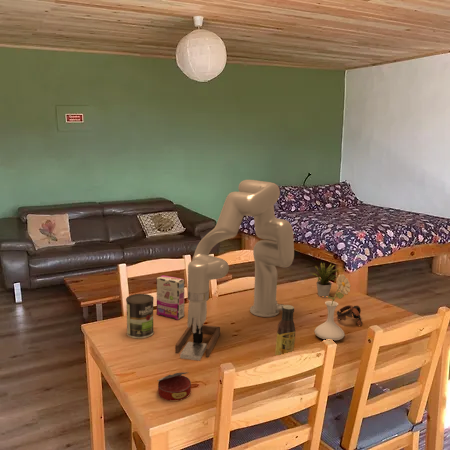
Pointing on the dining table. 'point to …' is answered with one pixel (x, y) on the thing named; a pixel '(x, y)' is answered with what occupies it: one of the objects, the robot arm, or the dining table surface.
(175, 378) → the canned food
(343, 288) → the flower in vase
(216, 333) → the brown u-shaped frame
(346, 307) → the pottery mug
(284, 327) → the sauce bottle
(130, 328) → the coffee can
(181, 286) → the candy bar box
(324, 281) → the house plant
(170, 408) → the dining table surface
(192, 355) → the cover plate
